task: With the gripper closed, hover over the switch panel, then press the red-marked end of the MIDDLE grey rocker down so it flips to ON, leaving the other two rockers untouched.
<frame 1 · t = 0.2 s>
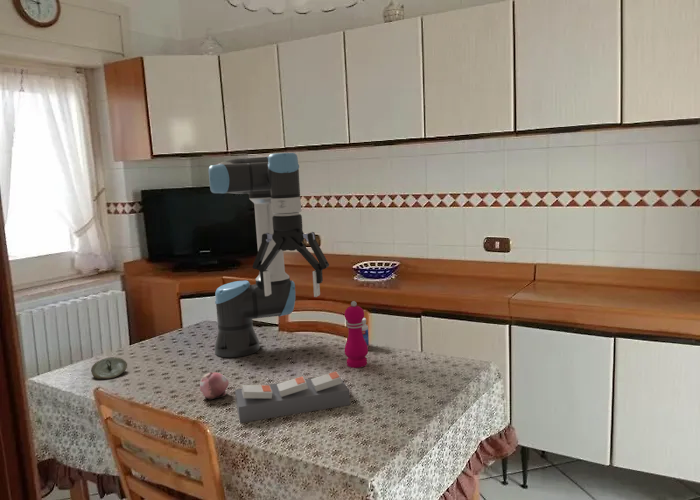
hand: (292, 295, 153), 28 cm above the table, fingers open, 13 cm apart
switch panel: (292, 404, 152), on the table
onion: (215, 397, 161), on the table
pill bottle: (361, 347, 197), on the table
pepper mill: (357, 365, 180), on the table
rocker 3: (326, 380, 152), point 6 cm above the table, hinge at 10.0°
rocker 2: (292, 386, 150), point 6 cm above the table, hinge at 10.0°
lid: (110, 375, 183), on the table
rocker 1: (256, 391, 147), point 6 cm above the table, hinge at -10.0°
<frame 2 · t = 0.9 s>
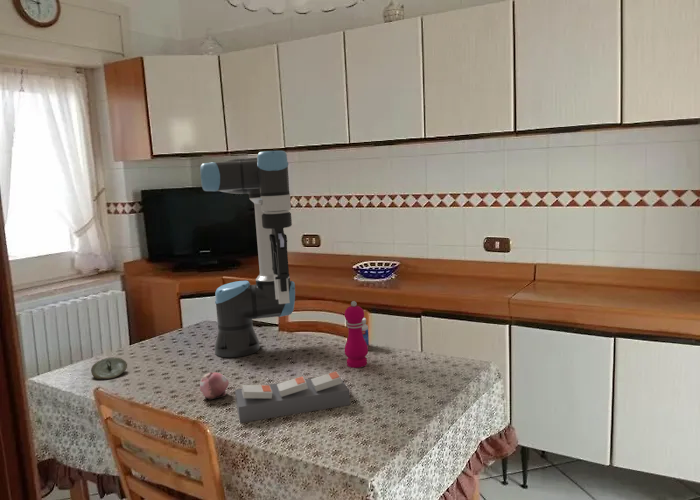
hand: (282, 300, 153), 27 cm above the table, fingers open, 5 cm apart
nothing on the table moved.
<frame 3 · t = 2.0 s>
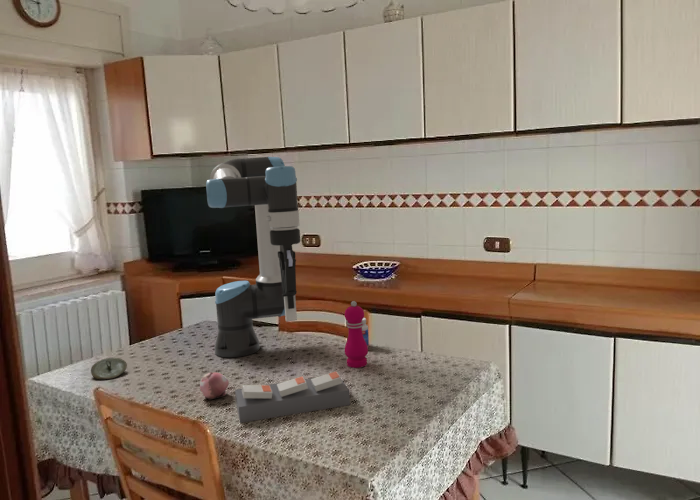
hand: (291, 320, 150), 22 cm above the table, fingers closed
nothing on the table moved.
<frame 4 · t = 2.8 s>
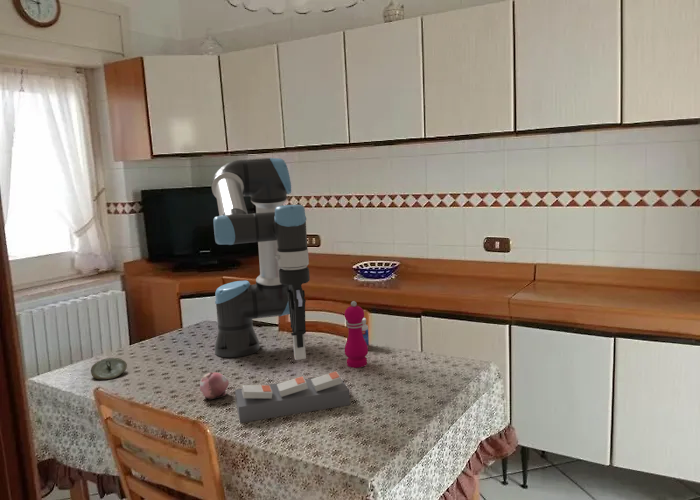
hand: (300, 358, 149), 13 cm above the table, fingers closed
nothing on the table moved.
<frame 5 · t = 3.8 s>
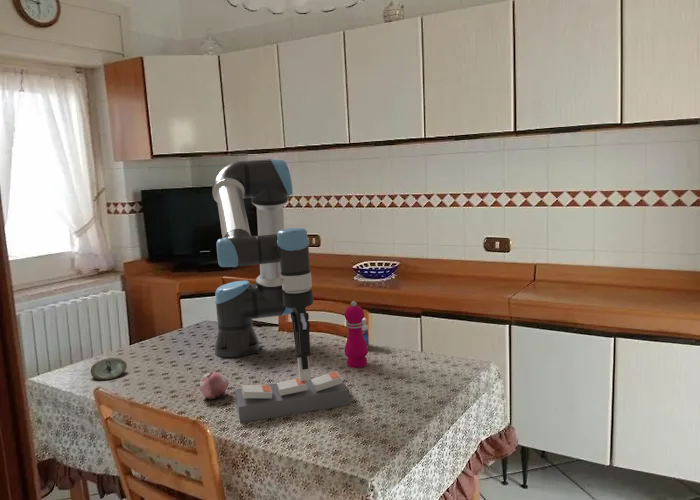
hand: (305, 379, 150), 7 cm above the table, fingers closed
rocker 2: (292, 386, 150), point 6 cm above the table, hinge at 4.0°, touching gripper
everything else where it was.
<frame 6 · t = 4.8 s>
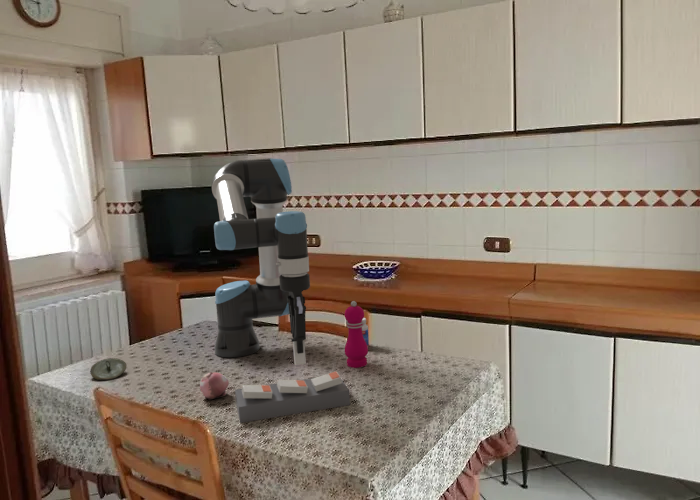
hand: (300, 363, 150), 11 cm above the table, fingers closed
rocker 2: (292, 386, 150), point 6 cm above the table, hinge at -11.0°
everything else where it was.
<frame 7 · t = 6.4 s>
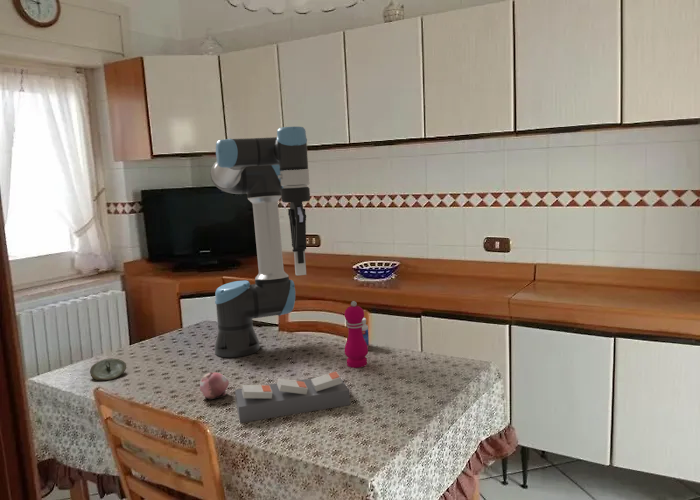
hand: (300, 274, 157), 32 cm above the table, fingers closed
rocker 2: (292, 386, 150), point 6 cm above the table, hinge at -16.9°, touching switch panel
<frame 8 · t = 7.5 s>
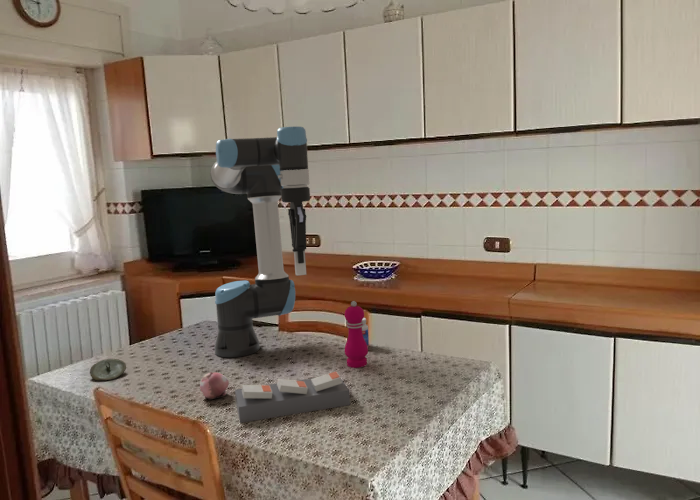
hand: (300, 274, 157), 32 cm above the table, fingers closed
rocker 2: (292, 386, 150), point 6 cm above the table, hinge at -15.3°
at the end: rocker 2 at -15° (first picture: +10°); rocker 1 at -10° (first picture: -10°); rocker 3 at +10° (first picture: +10°) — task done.
